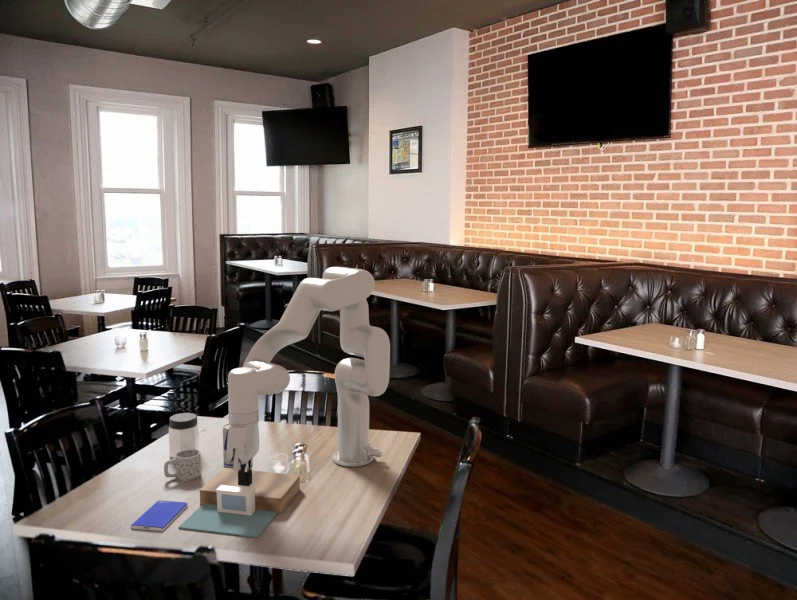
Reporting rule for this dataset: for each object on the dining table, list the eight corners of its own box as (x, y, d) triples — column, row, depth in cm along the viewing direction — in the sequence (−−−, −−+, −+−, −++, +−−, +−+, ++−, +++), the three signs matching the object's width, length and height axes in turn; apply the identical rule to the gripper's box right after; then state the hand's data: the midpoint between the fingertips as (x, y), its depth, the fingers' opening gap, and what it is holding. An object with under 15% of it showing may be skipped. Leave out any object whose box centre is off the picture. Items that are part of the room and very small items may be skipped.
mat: (277, 513, 152) (277, 511, 152) (257, 538, 140) (257, 536, 140) (203, 504, 156) (203, 503, 156) (178, 528, 144) (178, 526, 144)
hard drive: (157, 499, 156) (130, 524, 144) (187, 502, 155) (162, 527, 143) (157, 505, 156) (130, 530, 144) (187, 508, 155) (163, 533, 143)
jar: (173, 461, 182) (172, 423, 180) (166, 452, 188) (164, 415, 187) (203, 455, 187) (202, 418, 185) (195, 446, 194) (193, 410, 192)
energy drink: (237, 469, 178) (236, 429, 176) (220, 467, 179) (219, 428, 177) (245, 461, 183) (244, 423, 181) (228, 460, 184) (227, 422, 182)
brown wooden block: (299, 489, 165) (299, 475, 165) (280, 513, 152) (280, 498, 151) (225, 481, 169) (224, 467, 169) (200, 504, 156) (199, 489, 155)
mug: (196, 468, 177) (195, 447, 176) (204, 477, 172) (203, 454, 171) (161, 477, 171) (160, 454, 171) (167, 485, 166) (166, 462, 165)
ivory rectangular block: (254, 488, 151) (250, 493, 149) (255, 510, 152) (251, 515, 150) (220, 485, 153) (216, 489, 150) (222, 506, 154) (217, 511, 151)
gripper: (243, 406, 162) (244, 471, 164) (216, 425, 147) (217, 496, 150) (269, 408, 160) (270, 474, 163) (245, 427, 146) (246, 499, 148)
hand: (245, 484), depth 156 cm, fingers closed
